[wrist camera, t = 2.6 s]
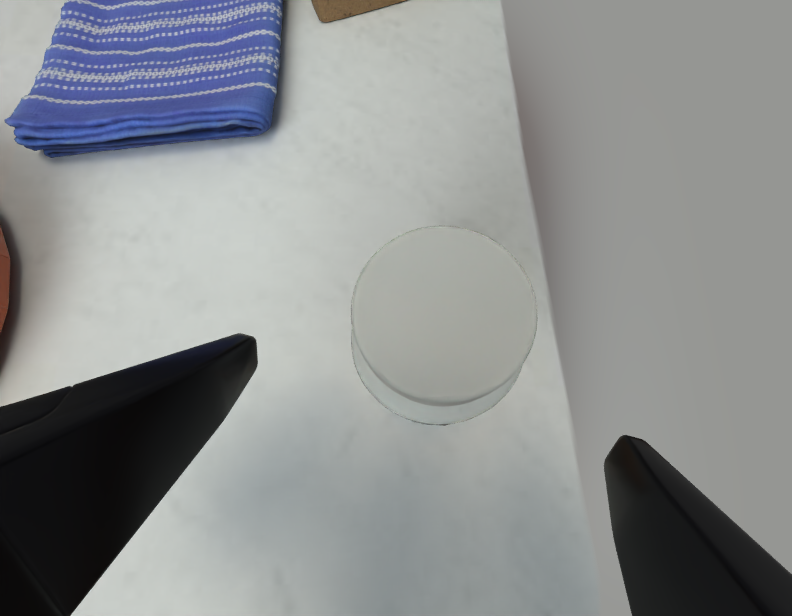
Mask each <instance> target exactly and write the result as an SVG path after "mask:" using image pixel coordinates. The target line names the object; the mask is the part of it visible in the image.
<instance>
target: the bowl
mask: <svg viewBox="0 0 792 616" xmlns="http://www.w3.org/2000/svg"><path fill="white" fill-rule="evenodd" d="M9 283H10V255H9V252H8V249H7V245H6V242H5V239H4V235H3V232H2V229H1V225H0V334H1V330H2V327H3V324H4V321H5V317H6V314H7V311H8V309H7V308H8V307H9Z"/></svg>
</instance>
